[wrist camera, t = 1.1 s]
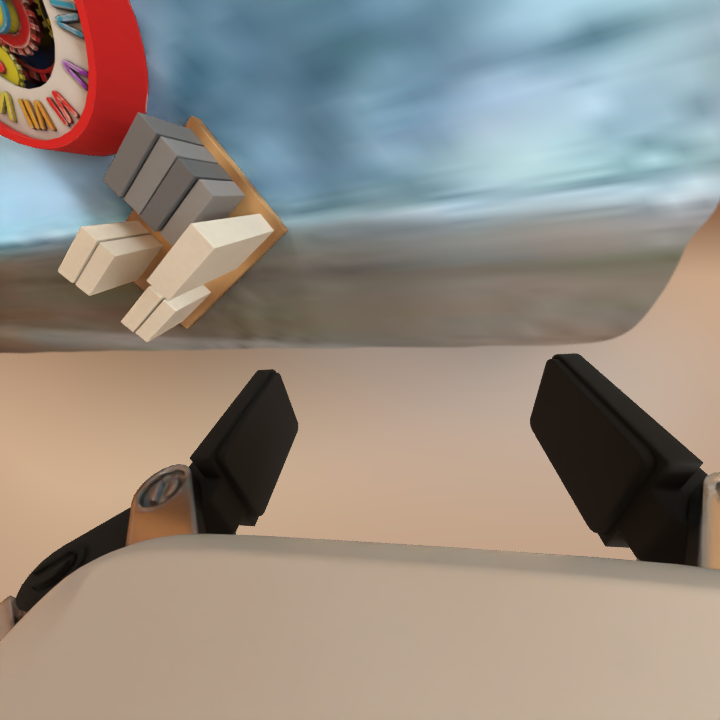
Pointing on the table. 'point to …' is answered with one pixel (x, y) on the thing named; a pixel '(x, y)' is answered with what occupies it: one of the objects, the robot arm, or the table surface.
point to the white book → (208, 253)
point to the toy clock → (70, 74)
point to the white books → (126, 274)
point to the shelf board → (247, 206)
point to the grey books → (170, 177)
